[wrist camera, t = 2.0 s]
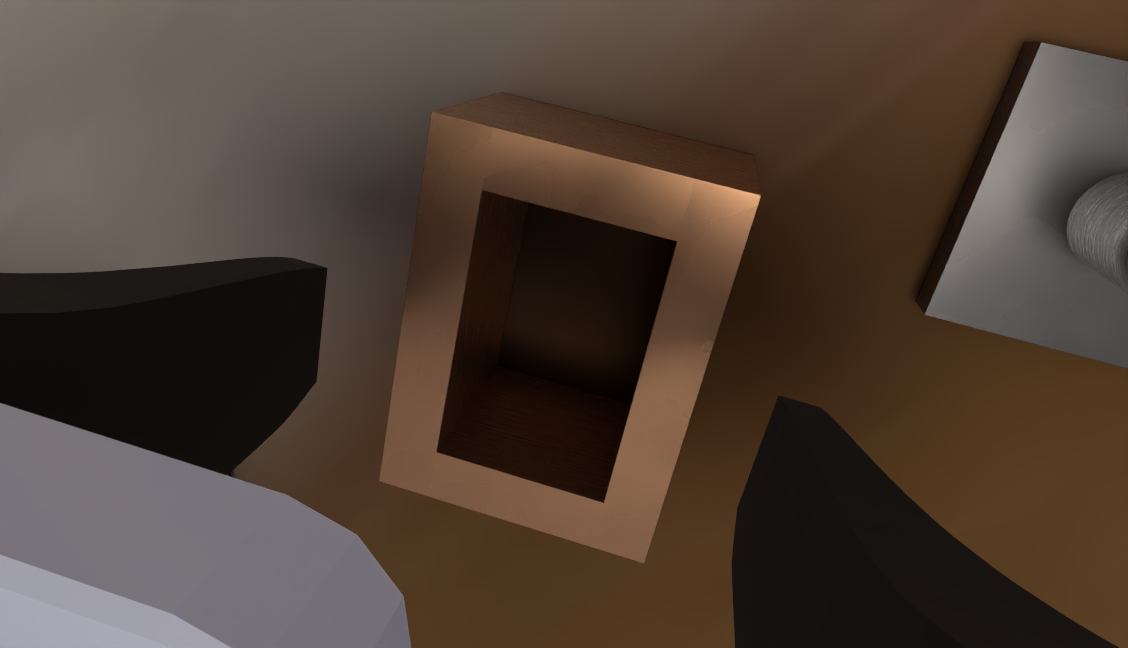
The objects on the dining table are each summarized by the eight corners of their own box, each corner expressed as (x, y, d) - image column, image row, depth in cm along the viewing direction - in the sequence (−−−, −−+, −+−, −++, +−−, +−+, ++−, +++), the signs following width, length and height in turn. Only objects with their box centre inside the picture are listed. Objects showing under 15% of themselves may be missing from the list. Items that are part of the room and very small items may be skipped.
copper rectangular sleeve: (662, 453, 18) (644, 563, 14) (449, 391, 18) (379, 481, 15) (754, 155, 15) (760, 195, 12) (501, 91, 16) (431, 111, 12)
